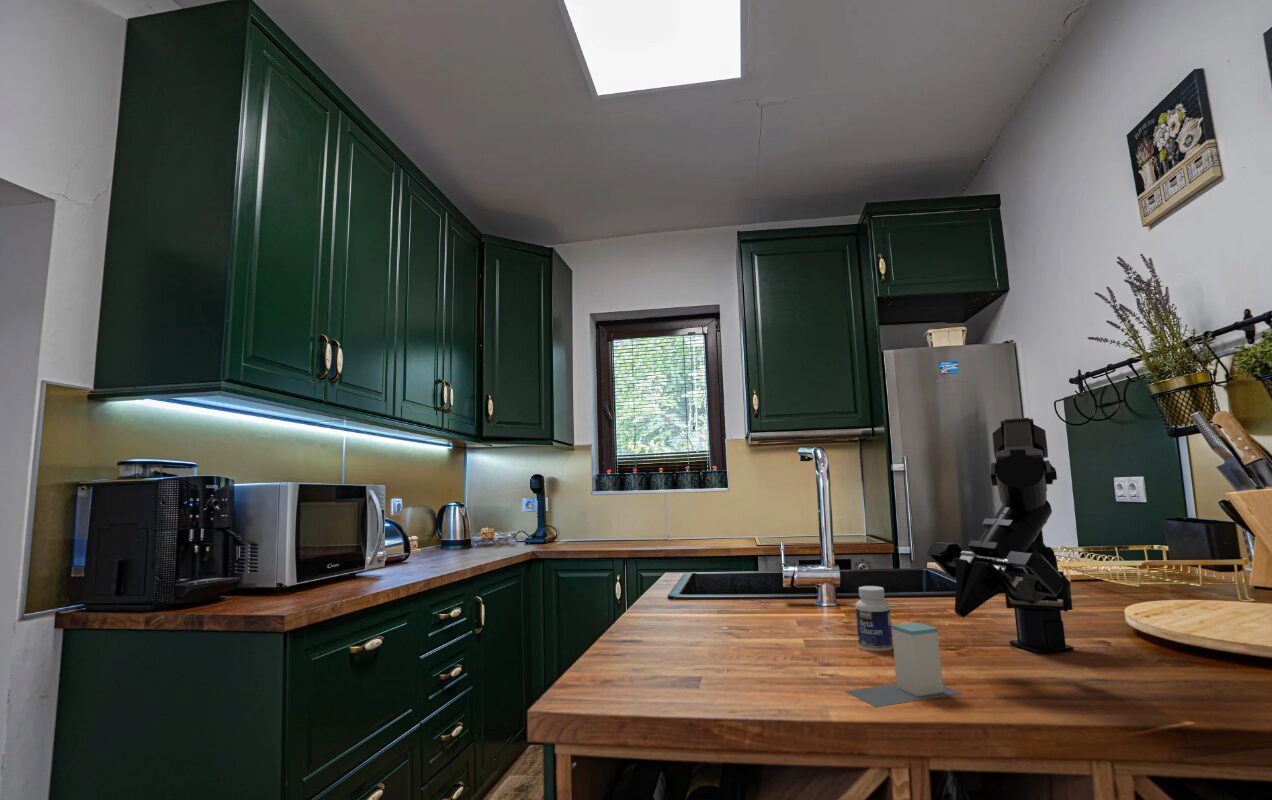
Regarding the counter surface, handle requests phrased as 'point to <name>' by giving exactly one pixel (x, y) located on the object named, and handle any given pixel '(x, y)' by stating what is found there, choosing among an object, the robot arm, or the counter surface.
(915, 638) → the cream block
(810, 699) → the counter surface
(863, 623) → the pill bottle
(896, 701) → the slate mat
